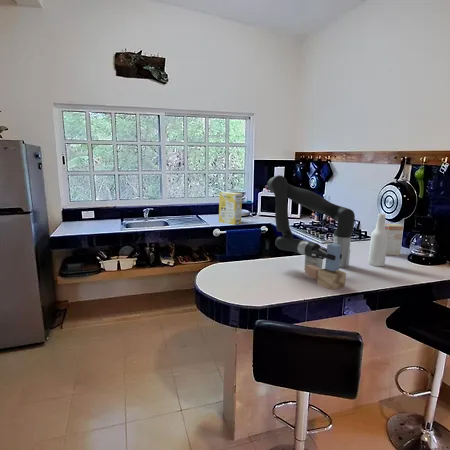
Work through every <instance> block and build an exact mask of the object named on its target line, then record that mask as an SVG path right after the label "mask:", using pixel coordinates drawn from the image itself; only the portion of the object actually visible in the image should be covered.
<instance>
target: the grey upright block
mask: <svg viewBox="0 0 450 450" xmlns="http://www.w3.org/2000/svg"><path fill="white" fill-rule="evenodd" d="M320 247H321V248H323V247H322V246H320ZM323 260H324V259H320V258H311V257H308V256H305V255H304V266H305V265H315V266H317V267H318V268H320V269H323ZM303 268H304V269H303V270H304V271H305V267H303Z"/></svg>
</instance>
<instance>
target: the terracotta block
mask: <svg viewBox="0 0 450 450" xmlns="http://www.w3.org/2000/svg"><path fill="white" fill-rule="evenodd" d="M304 268H305V270H304V273H305V274H306V275H308V276H309V277H311V278H312V279H314V280H317V277H318V270H320V268H318V267H317V266H315V265H305V264H304Z"/></svg>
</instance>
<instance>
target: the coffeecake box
mask: <svg viewBox="0 0 450 450" xmlns="http://www.w3.org/2000/svg"><path fill="white" fill-rule="evenodd" d="M376 225H377V223H375V226H376ZM375 229H376V227H375ZM375 229H374V230H375ZM385 231H386V232H387V234H388V240H387V249H386V256H399V257H400V256H401V249H402V248H401V247H402V240H403V232H404V225H401V224H399V223H385Z"/></svg>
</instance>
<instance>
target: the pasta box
mask: <svg viewBox="0 0 450 450" xmlns="http://www.w3.org/2000/svg"><path fill="white" fill-rule="evenodd" d="M218 197H219V200H218V202H219V203H218V223H220V222H221V224H227V225H233V226H235V225H240V224H242V203H243V193H242V192H230V191H223V192H219V196H218Z"/></svg>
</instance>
